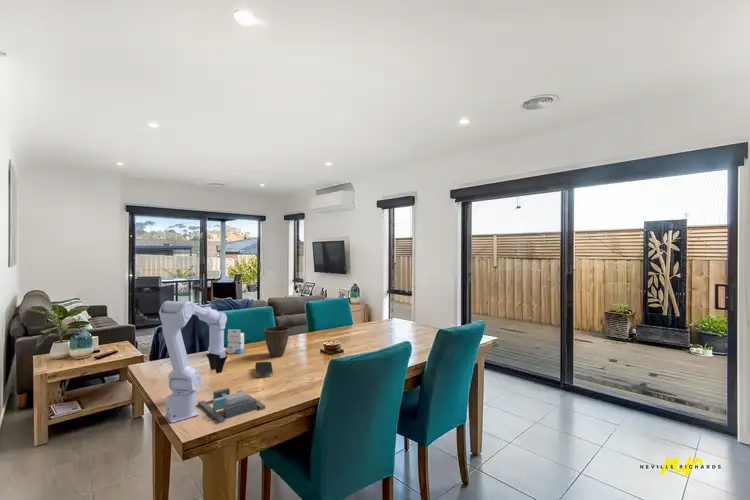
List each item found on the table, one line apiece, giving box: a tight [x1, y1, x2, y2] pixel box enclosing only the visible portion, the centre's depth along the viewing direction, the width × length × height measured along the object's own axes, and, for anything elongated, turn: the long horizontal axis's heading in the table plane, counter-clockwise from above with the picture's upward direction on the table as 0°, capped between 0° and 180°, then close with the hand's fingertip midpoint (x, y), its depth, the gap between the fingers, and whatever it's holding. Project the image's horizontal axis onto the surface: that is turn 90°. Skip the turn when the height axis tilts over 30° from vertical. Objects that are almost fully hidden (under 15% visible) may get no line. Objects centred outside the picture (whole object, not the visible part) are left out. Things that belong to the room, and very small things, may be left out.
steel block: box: [222, 390, 250, 411], centre depth 141 cm, size 8×5×6 cm, turn 134°
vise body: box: [197, 389, 266, 424], centre depth 145 cm, size 18×22×4 cm
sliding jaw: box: [212, 387, 231, 411], centre depth 149 cm, size 12×10×4 cm
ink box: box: [227, 328, 245, 354], centre depth 223 cm, size 8×5×15 cm, turn 85°
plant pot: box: [263, 326, 290, 358], centre depth 217 cm, size 15×15×16 cm
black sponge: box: [254, 361, 274, 378], centre depth 186 cm, size 16×8×4 cm, turn 19°
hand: (216, 371), depth 156 cm, fingers open, 5 cm apart
